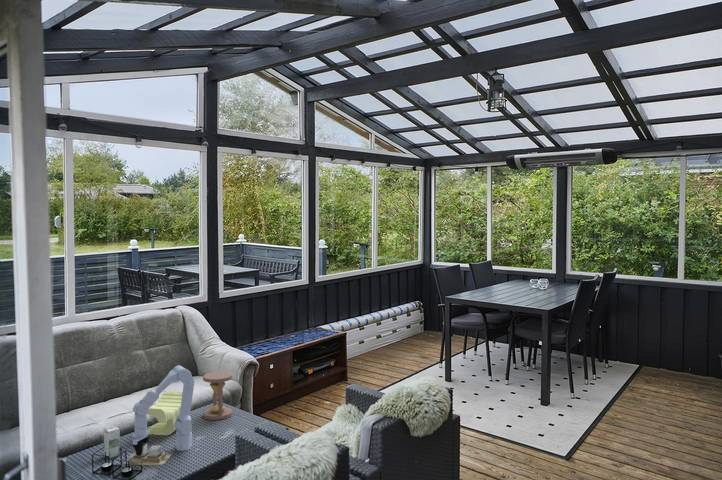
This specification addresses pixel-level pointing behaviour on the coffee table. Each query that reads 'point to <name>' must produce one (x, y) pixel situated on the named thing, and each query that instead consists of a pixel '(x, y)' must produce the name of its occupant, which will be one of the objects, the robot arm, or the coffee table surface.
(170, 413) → the slatted curved stool
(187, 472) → the coffee table surface
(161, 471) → the coffee table surface
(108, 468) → the coffee table surface
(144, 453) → the billet
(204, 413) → the hourglass
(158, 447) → the billet
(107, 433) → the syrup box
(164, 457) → the pallet
